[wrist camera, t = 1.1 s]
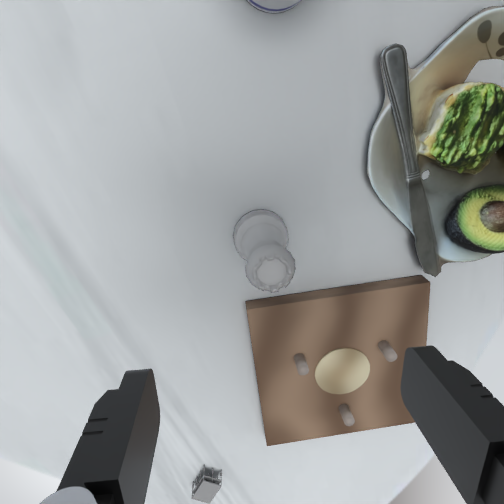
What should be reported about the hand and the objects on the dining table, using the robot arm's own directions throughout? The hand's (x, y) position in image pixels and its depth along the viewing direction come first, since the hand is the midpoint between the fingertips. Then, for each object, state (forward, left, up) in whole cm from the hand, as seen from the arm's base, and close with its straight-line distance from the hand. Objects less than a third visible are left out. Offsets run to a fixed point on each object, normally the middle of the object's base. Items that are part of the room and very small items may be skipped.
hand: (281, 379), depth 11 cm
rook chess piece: (-1, +2, -19) cm, 19 cm away
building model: (+8, +28, -19) cm, 35 cm away
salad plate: (-19, -2, -20) cm, 27 cm away
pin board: (-7, +16, -19) cm, 26 cm away
